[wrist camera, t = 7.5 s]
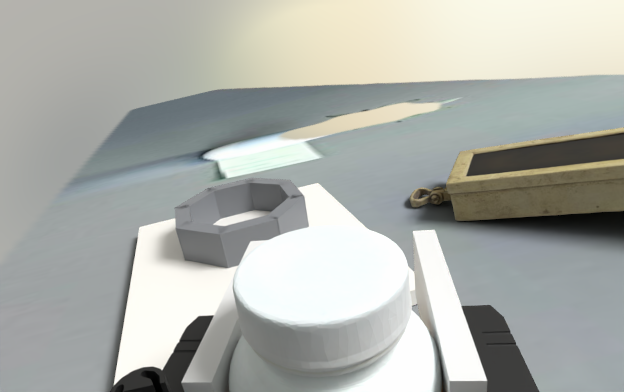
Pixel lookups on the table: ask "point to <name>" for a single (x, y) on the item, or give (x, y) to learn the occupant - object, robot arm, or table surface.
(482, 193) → the box
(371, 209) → the table surface
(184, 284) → the plate
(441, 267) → the robot arm
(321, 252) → the supplement bottle
